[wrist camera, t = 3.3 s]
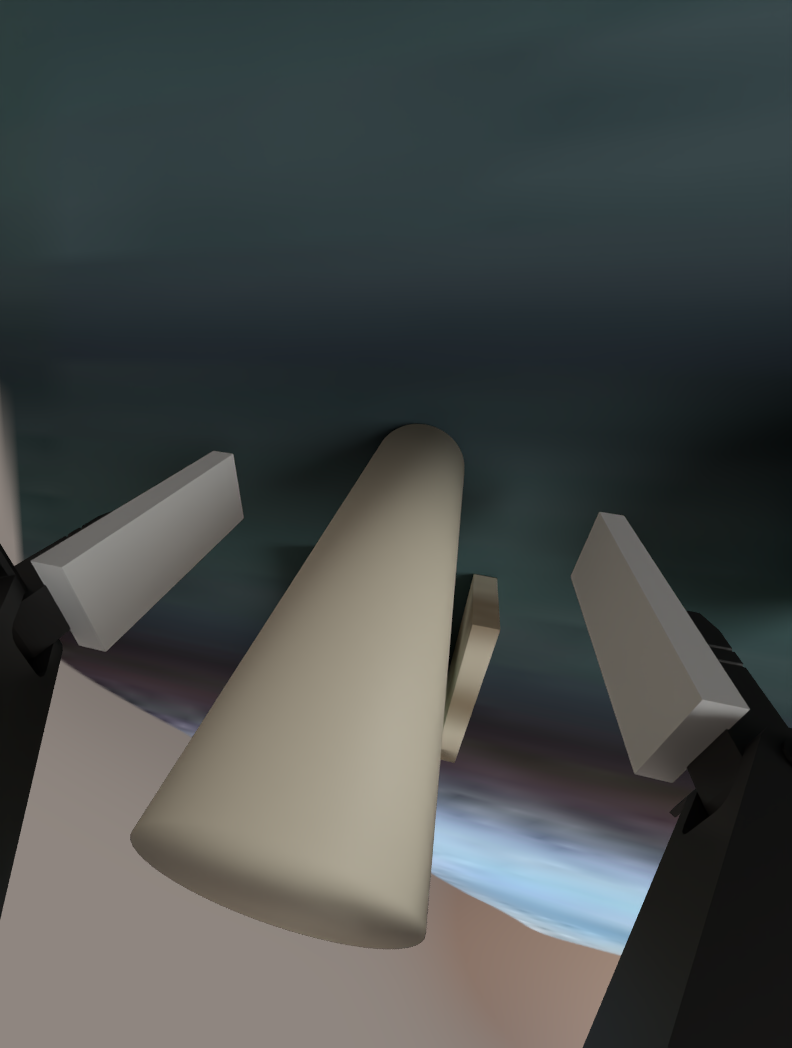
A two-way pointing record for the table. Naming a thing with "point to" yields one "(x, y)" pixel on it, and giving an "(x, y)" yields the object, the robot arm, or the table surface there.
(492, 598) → the beige u-shaped frame
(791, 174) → the table surface
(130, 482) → the table surface
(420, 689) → the beige teardrop-shaped paddle
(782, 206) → the table surface
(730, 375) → the table surface
